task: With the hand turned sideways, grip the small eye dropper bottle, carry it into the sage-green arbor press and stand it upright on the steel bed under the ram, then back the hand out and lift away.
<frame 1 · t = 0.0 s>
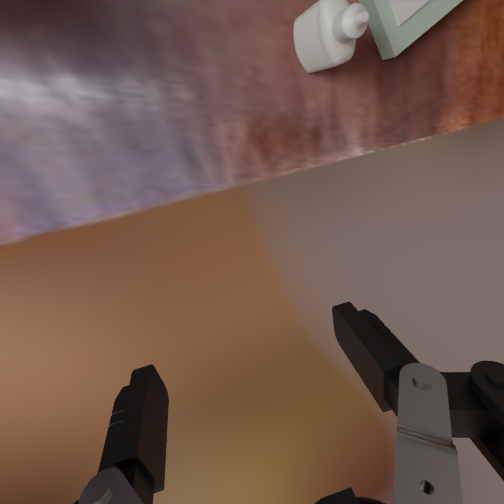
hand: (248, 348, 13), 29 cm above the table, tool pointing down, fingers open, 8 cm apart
eye dropper bottle: (307, 45, 34), on the table
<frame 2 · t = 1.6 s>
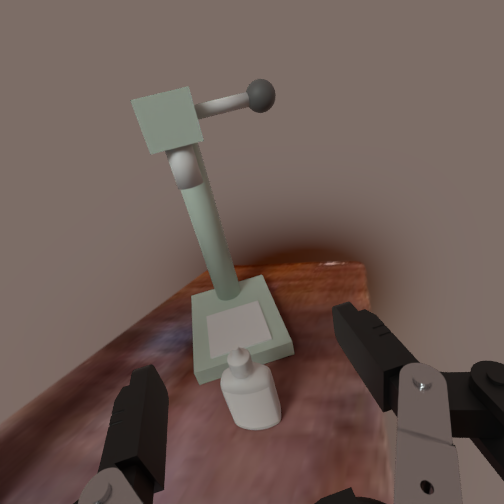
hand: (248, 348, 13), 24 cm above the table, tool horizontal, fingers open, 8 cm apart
arbor press: (240, 339, 46), on the table
eye dropper bottle: (259, 417, 35), on the table
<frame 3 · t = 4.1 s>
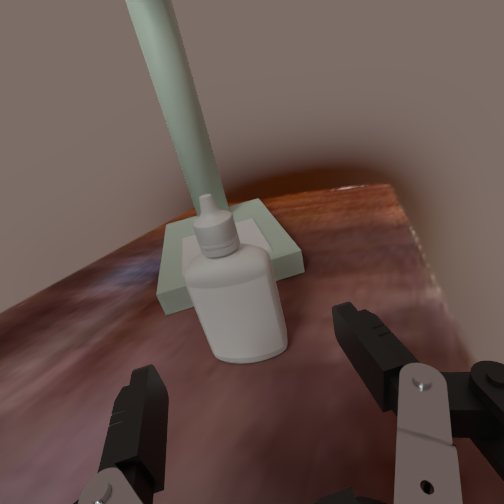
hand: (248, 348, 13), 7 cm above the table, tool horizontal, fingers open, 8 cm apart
arbor press: (228, 264, 33), on the table
eye dropper bottle: (252, 347, 22), on the table
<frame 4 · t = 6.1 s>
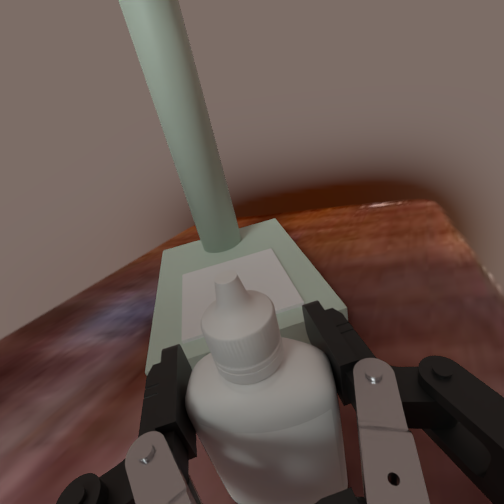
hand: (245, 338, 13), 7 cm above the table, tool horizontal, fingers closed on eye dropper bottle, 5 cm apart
arbor press: (241, 311, 26), on the table
eye dropper bottle: (288, 477, 14), on the table, touching gripper
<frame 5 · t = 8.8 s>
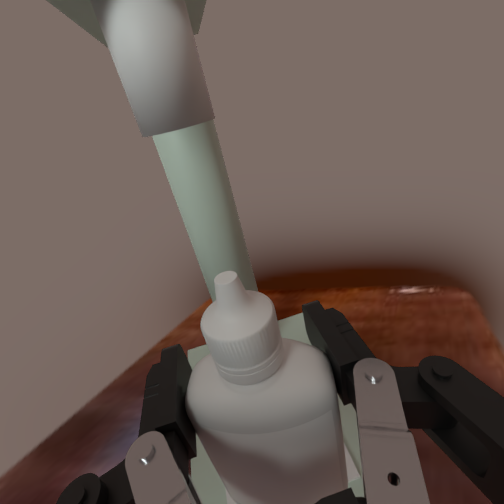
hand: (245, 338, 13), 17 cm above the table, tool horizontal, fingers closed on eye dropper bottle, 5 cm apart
arbor press: (282, 450, 24), on the table
eye dropper bottle: (288, 477, 14), point 9 cm above the table, touching gripper
when the fingers open (10 cm above the table, at t = 11.5 s): eye dropper bottle stays where it is, resting on arbor press.
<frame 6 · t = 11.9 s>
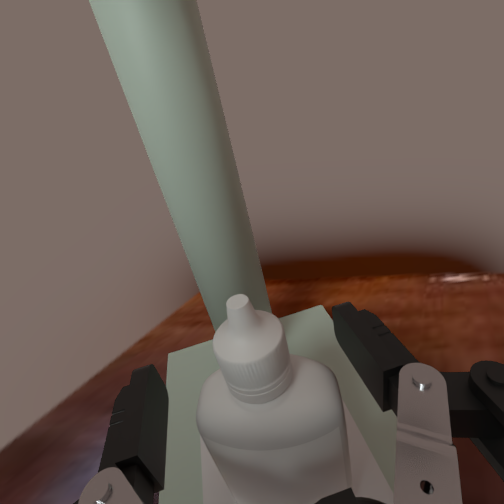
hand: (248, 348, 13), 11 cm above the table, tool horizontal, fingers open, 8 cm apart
eye dropper bottle: (294, 487, 15), point 3 cm above the table, touching arbor press
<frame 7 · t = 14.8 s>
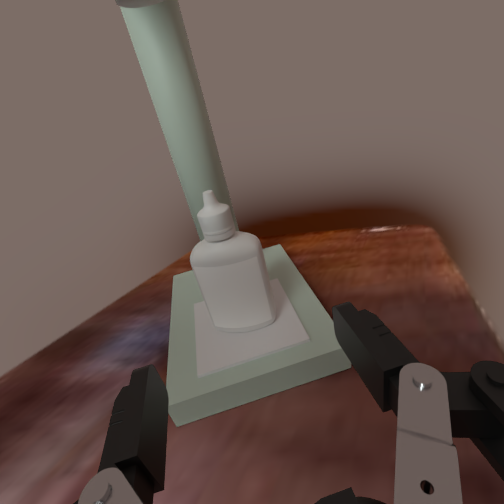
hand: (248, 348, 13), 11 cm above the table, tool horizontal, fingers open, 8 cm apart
arbor press: (250, 340, 27), on the table
eye dropper bottle: (246, 320, 26), point 3 cm above the table, touching arbor press
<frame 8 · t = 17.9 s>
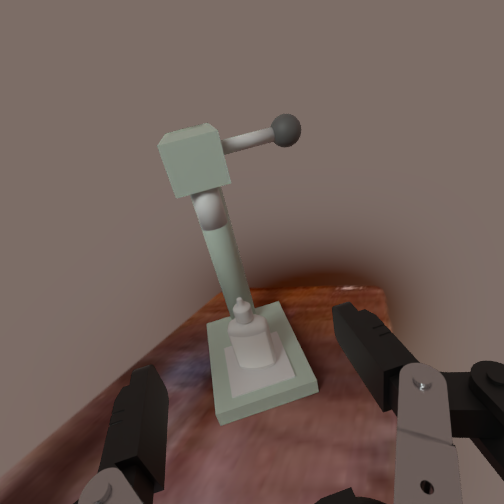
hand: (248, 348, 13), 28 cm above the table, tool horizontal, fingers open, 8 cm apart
arbor press: (260, 373, 45), on the table
eye dropper bottle: (258, 362, 43), point 3 cm above the table, touching arbor press
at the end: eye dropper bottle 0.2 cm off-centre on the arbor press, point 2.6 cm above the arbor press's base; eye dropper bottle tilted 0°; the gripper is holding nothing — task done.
